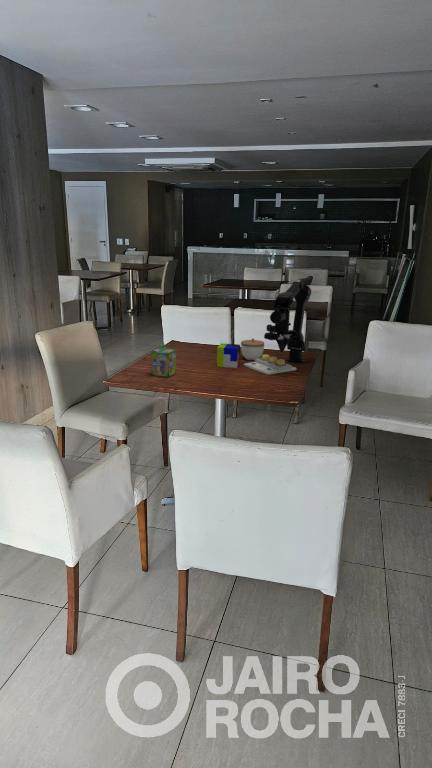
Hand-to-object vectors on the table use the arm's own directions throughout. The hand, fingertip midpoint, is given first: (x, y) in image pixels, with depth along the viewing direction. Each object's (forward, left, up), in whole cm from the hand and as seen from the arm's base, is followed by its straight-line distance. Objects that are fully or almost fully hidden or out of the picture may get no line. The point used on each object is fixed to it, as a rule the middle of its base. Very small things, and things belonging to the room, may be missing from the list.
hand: (281, 352), depth 244 cm
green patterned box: (+54, -21, -9) cm, 59 cm away
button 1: (0, -12, -7) cm, 14 cm away
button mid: (0, -6, -7) cm, 9 cm away
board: (+2, -6, -9) cm, 11 cm away
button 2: (0, 0, -7) cm, 7 cm away
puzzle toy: (+17, -21, -9) cm, 29 cm away
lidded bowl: (-2, -26, -9) cm, 28 cm away
